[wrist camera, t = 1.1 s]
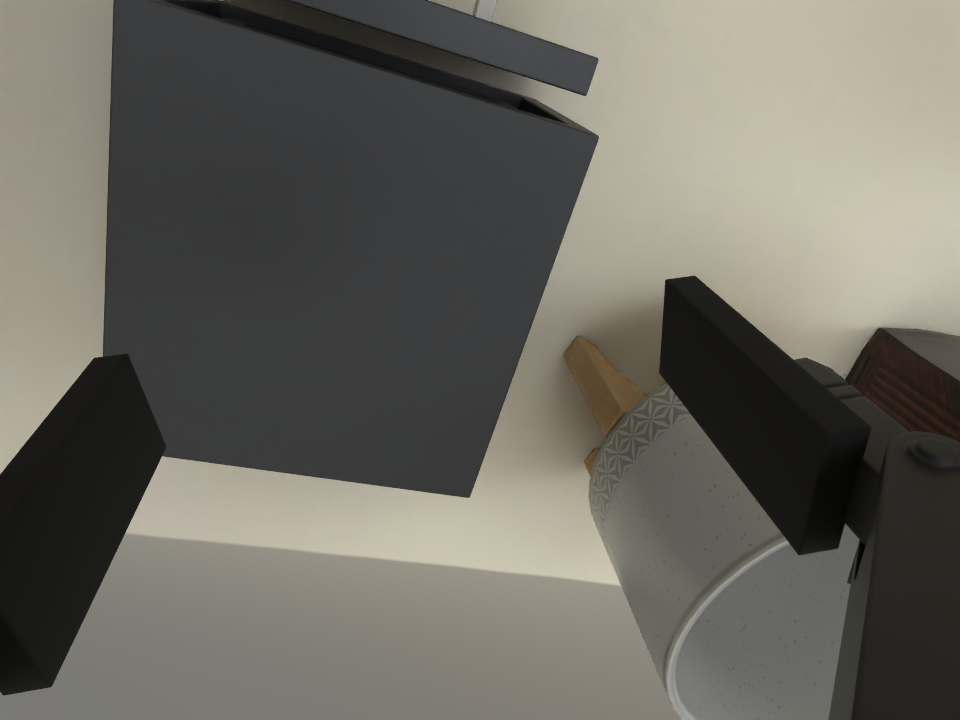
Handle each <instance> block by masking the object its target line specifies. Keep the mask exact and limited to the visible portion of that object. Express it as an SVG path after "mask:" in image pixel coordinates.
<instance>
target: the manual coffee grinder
mask: <svg viewBox="0 0 960 720" xmlns="http://www.w3.org/2000/svg"><path fill="white" fill-rule="evenodd" d="M846 381H847V382H848V385H852V386H853V387H854V388H856V389H857V390H858V391H859V392H861V395H862V396H866V397H867V398H868V399H869V400H871V401H872V402H873V403H874V404H876V405H877V406H878V407H879V408H881V409H882V410H883V411H884V412H885V413H887V414H888V415H889V416H890V417H892V418H893V419H894V420H895V421H897V422H898V423H899V424H900V425H902V426H903V427H904V428H905V429H907V430H908V431H909V432H912V431H921V432H929V433H936V434H939V435H942V436H945V437H949V438H952V439H954V440H956V441H958V442H960V337H958V336H953V335H948V334H942V333H937V332H931V331H925V330H920V329H883V328H880V329H879V330H878V331H877V333H876V334H875V335H874V337H873V338H872V339H871V340H870V342H869V343H868V344H867V346H866V347H865V348H864V349H863V351H862V353H861V354H860V356H859V358H858V360H857V361H856V363H855V365H854V367H853V369H852V370H851V372H850V374H849V376H848V377H847V379H846Z"/></svg>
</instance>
